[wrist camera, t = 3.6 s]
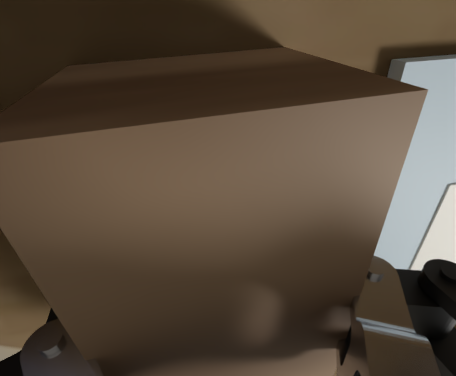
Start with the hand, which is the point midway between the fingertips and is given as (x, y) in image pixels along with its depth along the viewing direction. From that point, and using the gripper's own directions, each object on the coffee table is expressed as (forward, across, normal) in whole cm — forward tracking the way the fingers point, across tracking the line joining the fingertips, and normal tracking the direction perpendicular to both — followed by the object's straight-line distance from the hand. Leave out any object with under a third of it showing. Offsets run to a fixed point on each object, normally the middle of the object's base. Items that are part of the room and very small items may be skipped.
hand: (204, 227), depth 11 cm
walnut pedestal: (+1, 0, 0) cm, 1 cm away
